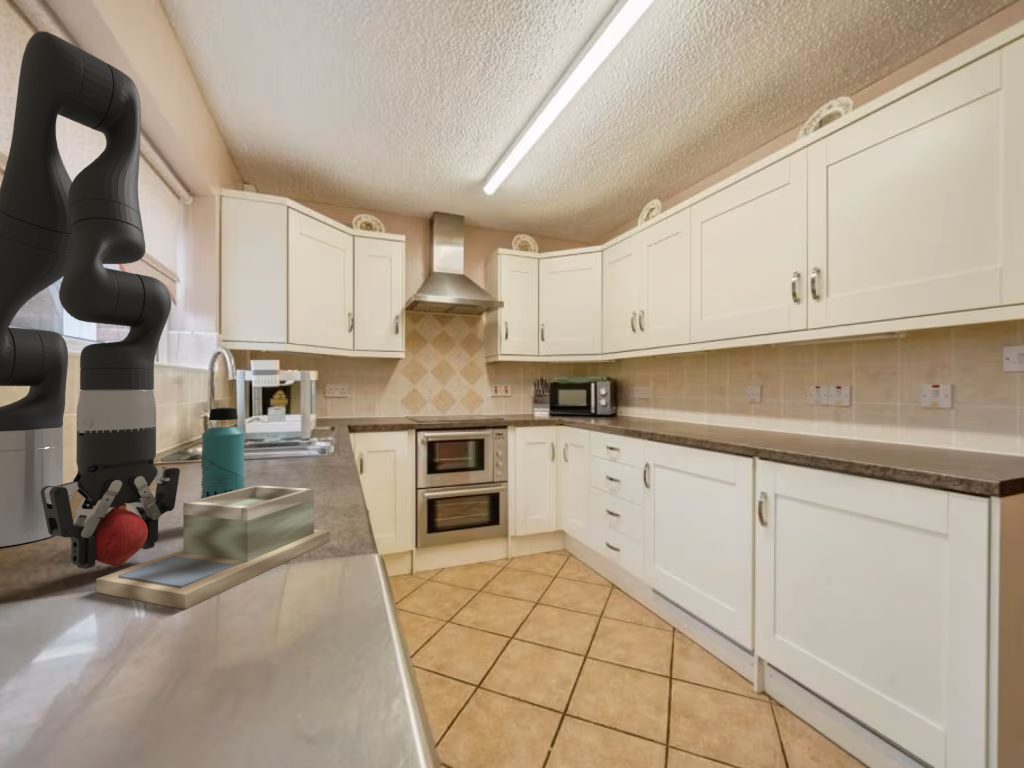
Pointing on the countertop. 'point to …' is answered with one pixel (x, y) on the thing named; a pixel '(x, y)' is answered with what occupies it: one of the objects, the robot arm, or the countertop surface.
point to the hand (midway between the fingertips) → (117, 556)
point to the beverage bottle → (222, 456)
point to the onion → (119, 536)
